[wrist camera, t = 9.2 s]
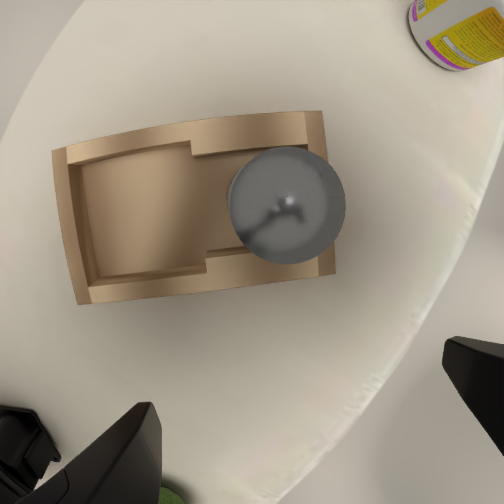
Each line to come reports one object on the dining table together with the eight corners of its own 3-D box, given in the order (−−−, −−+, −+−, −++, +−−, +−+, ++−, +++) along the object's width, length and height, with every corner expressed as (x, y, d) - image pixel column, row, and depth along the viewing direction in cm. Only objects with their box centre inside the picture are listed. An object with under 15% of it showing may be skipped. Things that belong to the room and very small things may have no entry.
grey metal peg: (230, 235, 19) (236, 271, 11) (222, 166, 18) (223, 151, 10) (298, 227, 19) (348, 257, 11) (291, 159, 18) (340, 144, 11)
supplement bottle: (479, 72, 18) (597, 43, 6) (425, 75, 18) (561, 26, 6) (450, 3, 17) (549, -51, 4) (391, -2, 17) (493, -85, 4)
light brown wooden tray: (92, 291, 19) (77, 305, 17) (69, 153, 17) (51, 150, 15) (322, 262, 20) (335, 273, 18) (309, 118, 18) (321, 110, 16)
